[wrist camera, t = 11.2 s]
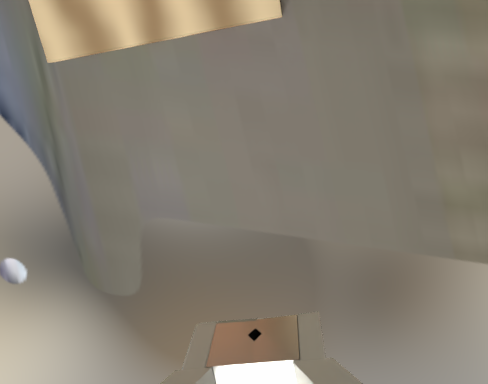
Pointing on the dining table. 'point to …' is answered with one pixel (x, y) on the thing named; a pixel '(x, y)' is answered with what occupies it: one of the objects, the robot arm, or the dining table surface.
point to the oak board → (136, 22)
